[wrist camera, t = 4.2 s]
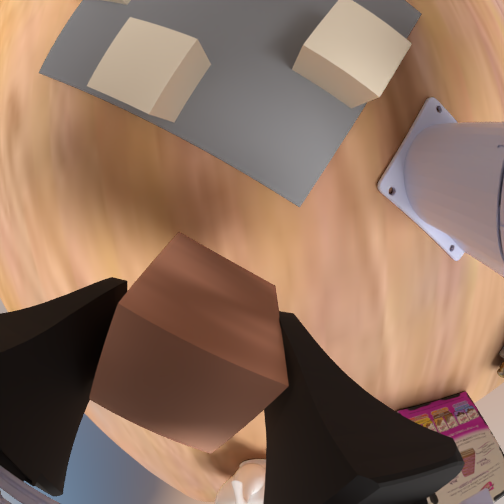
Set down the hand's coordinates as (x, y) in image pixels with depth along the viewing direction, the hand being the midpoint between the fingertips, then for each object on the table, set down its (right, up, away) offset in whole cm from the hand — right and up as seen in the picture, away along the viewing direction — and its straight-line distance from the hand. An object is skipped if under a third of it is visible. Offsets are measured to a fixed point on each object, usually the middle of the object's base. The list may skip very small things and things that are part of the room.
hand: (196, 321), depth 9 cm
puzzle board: (0, +17, +3) cm, 17 cm away
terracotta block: (0, 0, +1) cm, 1 cm away
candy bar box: (+23, -17, +15) cm, 32 cm away
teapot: (+3, -24, +18) cm, 30 cm away
